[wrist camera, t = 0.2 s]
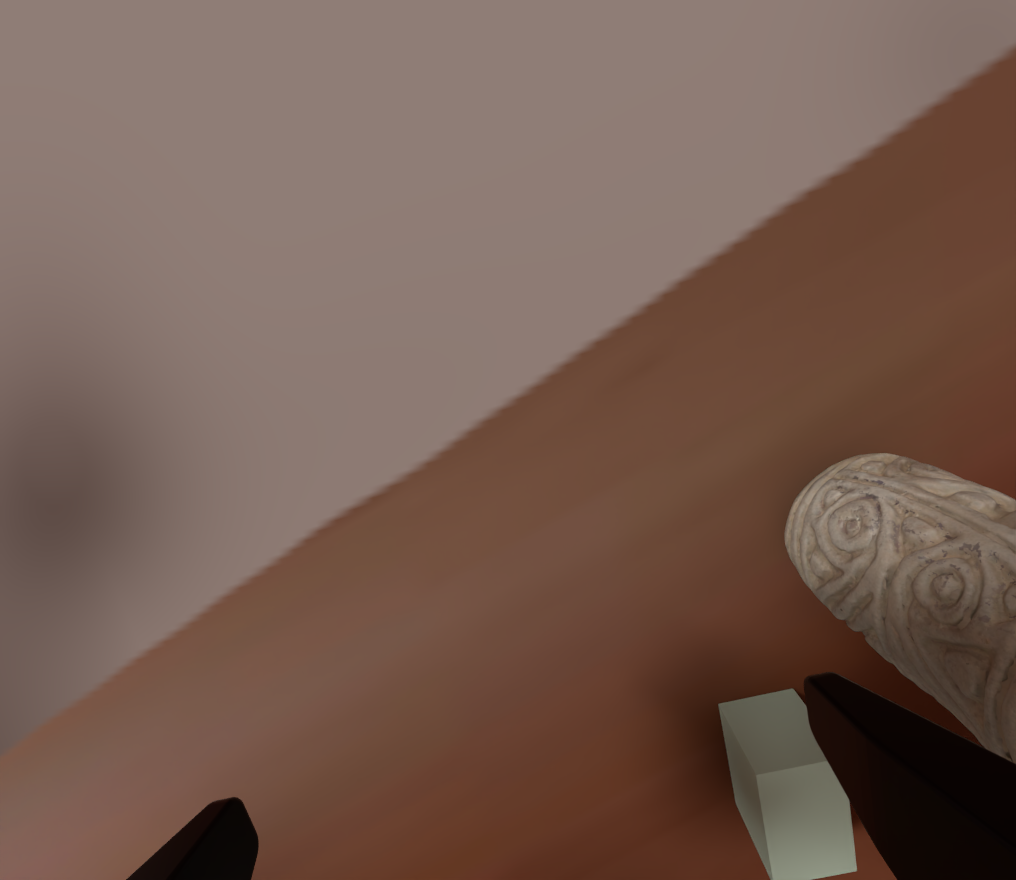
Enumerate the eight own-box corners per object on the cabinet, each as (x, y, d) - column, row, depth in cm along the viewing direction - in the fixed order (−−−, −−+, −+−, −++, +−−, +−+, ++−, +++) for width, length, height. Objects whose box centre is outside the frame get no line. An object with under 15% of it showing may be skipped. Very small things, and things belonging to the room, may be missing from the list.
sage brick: (805, 787, 26) (856, 870, 22) (734, 801, 26) (773, 886, 23) (791, 686, 25) (844, 757, 21) (717, 702, 25) (755, 774, 21)
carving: (820, 624, 24) (1118, 925, 12) (739, 494, 22) (992, 698, 11) (952, 549, 23) (1407, 798, 11) (877, 409, 22) (1315, 531, 10)
